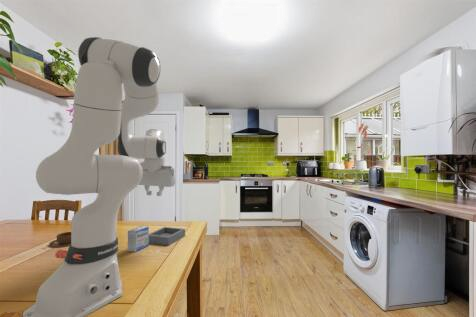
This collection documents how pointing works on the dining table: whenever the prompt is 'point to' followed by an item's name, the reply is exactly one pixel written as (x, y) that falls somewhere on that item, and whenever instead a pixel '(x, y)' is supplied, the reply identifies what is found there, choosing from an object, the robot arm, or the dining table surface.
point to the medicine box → (138, 238)
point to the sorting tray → (166, 235)
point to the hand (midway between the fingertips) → (154, 195)
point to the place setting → (62, 240)
